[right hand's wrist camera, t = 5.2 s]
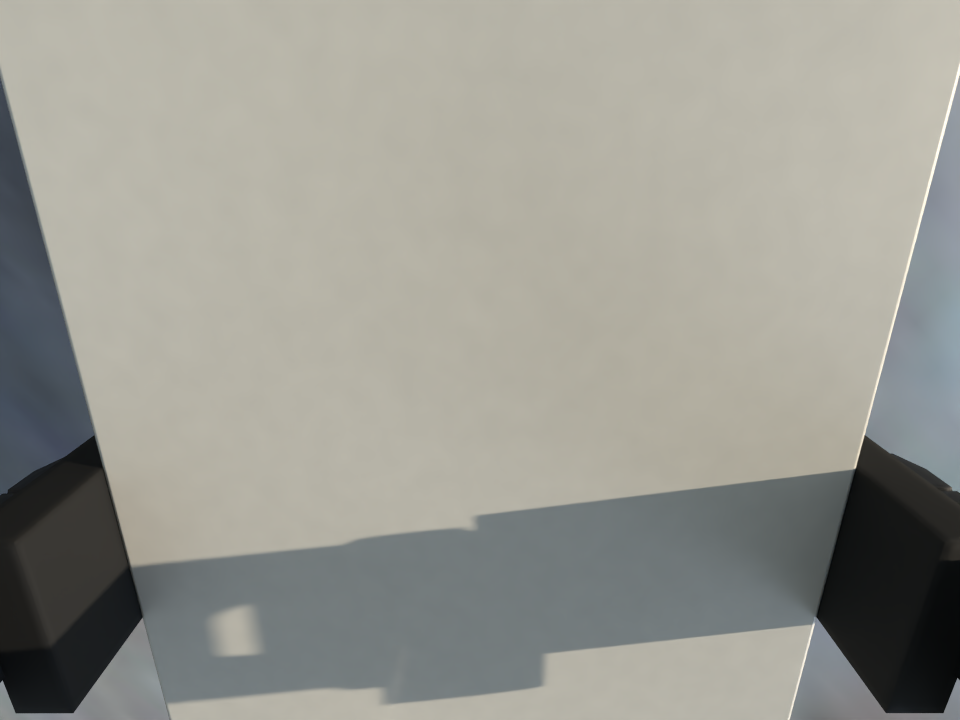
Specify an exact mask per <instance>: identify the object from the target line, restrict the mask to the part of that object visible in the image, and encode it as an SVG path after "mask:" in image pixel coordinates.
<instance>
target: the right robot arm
mask: <svg viewBox="0 0 960 720" xmlns="http://www.w3.org/2000/svg"><path fill="white" fill-rule="evenodd" d="M817 618H818V620H819V621H820V622H821V624H822V625H823V627H824V628H825V629H826V631H827V632H828V634H829V635H830V636H831V638H832V639H833V640H834V642H835V643H836V645H837V646H838V647H839V649H840V650H841V651H842V653H843V654H844V656H845V657H846V658H847V660H848V661H849V663H850V664H851V665H852V667H853V668H854V669H855V671H856V672H857V674H858V675H859V676H860V678H861V679H862V680H863V682H864V683H865V685H866V686H867V687H868V689H869V690H870V692H871V693H872V694H873V696H874V697H875V698H876V700H877V701H878V703H879V704H880V705H881V707H882V708H883V709H884V711H885V712H886V713H944V710H945V708H946V705H947V703H948V700H949V698H950V695H951V692H952V690H953V687H954V685H955V682H956V680H957V678H958V679H959V680H960V493H959V492H957V491H952V487H950V486H949V485H948V484H946V483H945V482H943V481H942V480H941V479H939V478H938V477H936V476H935V475H934V474H932V473H931V472H929V471H928V470H926V469H925V468H922V467H920V466H918V465H916V464H914V463H912V462H909V461H907V460H905V459H903V458H901V457H899V456H896V455H894V454H890V453H888V452H887V451H886V450H884V449H883V448H882V447H880V446H879V445H877V444H876V443H875V442H873V441H872V440H871V439H869V438H868V437H867V436H865V435H864V439H863V443H862V446H861V450H860V454H859V458H858V461H857V465H856V469H855V473H854V477H853V480H852V484H851V488H850V492H849V496H848V499H847V503H846V507H845V511H844V515H843V518H842V522H841V526H840V530H839V534H838V537H837V541H836V545H835V549H834V552H833V556H832V560H831V564H830V568H829V571H828V575H827V579H826V583H825V587H824V590H823V594H822V598H821V602H820V606H819V609H818V613H817ZM141 619H142V613H141V609H140V605H139V602H138V598H137V594H136V590H135V586H134V583H133V579H132V575H131V571H130V567H129V564H128V560H127V556H126V552H125V548H124V545H123V541H122V537H121V533H120V529H119V526H118V522H117V518H116V514H115V510H114V507H113V503H112V499H111V495H110V492H109V488H108V484H107V480H106V476H105V473H104V469H103V465H102V461H101V457H100V454H99V450H98V446H97V442H96V438H95V435H94V436H93V437H91V438H90V439H89V440H87V441H86V442H85V443H83V444H82V445H81V446H79V447H78V448H76V449H75V450H74V451H72V452H71V453H70V454H68V455H67V456H66V457H64V458H62V459H59V460H57V461H55V462H53V463H51V464H49V465H47V466H44V467H42V468H40V469H38V470H36V471H34V472H32V473H31V474H30V475H28V476H27V477H25V478H24V479H23V480H21V481H20V482H18V483H17V484H16V485H14V486H13V487H11V488H10V489H9V490H8V493H7V494H2V495H0V682H1V681H2V680H3V682H4V685H5V687H6V690H7V692H8V695H9V697H10V700H11V702H12V705H13V707H14V710H15V712H16V713H74V711H75V710H76V709H77V707H78V706H79V704H80V703H81V702H82V700H83V699H84V698H85V696H86V695H87V693H88V692H89V691H90V689H91V688H92V686H93V685H94V684H95V682H96V681H97V680H98V678H99V677H100V675H101V674H102V673H103V671H104V670H105V669H106V667H107V666H108V664H109V663H110V662H111V660H112V659H113V657H114V656H115V655H116V653H117V652H118V651H119V649H120V648H121V646H122V645H123V644H124V642H125V641H126V640H127V638H128V637H129V635H130V634H131V633H132V631H133V630H134V628H135V627H136V626H137V624H138V623H139V622H140V620H141Z"/></svg>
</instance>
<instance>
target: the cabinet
mask: <svg viewBox="0 0 960 720" xmlns="http://www.w3.org/2000/svg"><path fill="white" fill-rule="evenodd" d="M959 75H960V0H0V78H1V82H2V86H3V89H4V93H5V97H6V101H7V105H8V108H9V112H10V116H11V120H12V123H13V127H14V131H15V135H16V139H17V142H18V146H19V150H20V154H21V158H22V161H23V165H24V169H25V173H26V177H27V180H28V184H29V188H30V192H31V196H32V199H33V203H34V207H35V211H36V215H37V218H38V222H39V226H40V230H41V234H42V237H43V241H44V245H45V249H46V252H47V256H48V260H49V264H50V268H51V271H52V275H53V279H54V283H55V287H56V290H57V294H58V298H59V302H60V306H61V309H62V313H63V317H64V321H65V325H66V328H67V332H68V336H69V340H70V344H71V347H72V351H73V355H74V359H75V363H76V366H77V370H78V374H79V378H80V381H81V385H82V389H83V393H84V397H85V400H86V404H87V408H88V412H89V416H90V419H91V423H92V427H93V431H94V435H95V438H96V442H97V446H98V450H99V454H100V457H101V461H102V465H103V469H104V473H105V476H106V480H107V484H108V488H109V492H110V495H111V499H112V503H113V507H114V510H115V514H116V518H117V522H118V526H119V529H120V533H121V537H122V541H123V545H124V548H125V552H126V556H127V560H128V564H129V567H130V571H131V575H132V579H133V583H134V586H135V590H136V594H137V598H138V602H139V605H140V609H141V613H142V617H143V621H144V624H145V628H146V632H147V636H148V640H149V643H150V647H151V651H152V655H153V658H154V662H155V666H156V670H157V674H158V677H159V681H160V685H161V689H162V693H163V696H164V700H165V704H166V708H167V712H168V715H169V719H170V720H789V719H790V716H791V712H792V708H793V704H794V700H795V697H796V693H797V689H798V685H799V681H800V678H801V674H802V670H803V666H804V662H805V659H806V655H807V651H808V647H809V644H810V640H811V636H812V632H813V628H814V625H815V621H816V617H817V613H818V609H819V606H820V602H821V598H822V594H823V590H824V587H825V583H826V579H827V575H828V571H829V568H830V564H831V560H832V556H833V552H834V549H835V545H836V541H837V537H838V534H839V530H840V526H841V522H842V518H843V515H844V511H845V507H846V503H847V499H848V496H849V492H850V488H851V484H852V480H853V477H854V473H855V469H856V465H857V461H858V458H859V454H860V450H861V446H862V443H863V439H864V435H865V431H866V427H867V424H868V420H869V416H870V412H871V408H872V405H873V401H874V397H875V393H876V389H877V386H878V382H879V378H880V374H881V370H882V367H883V363H884V359H885V355H886V351H887V348H888V344H889V340H890V336H891V333H892V329H893V325H894V321H895V317H896V314H897V310H898V306H899V302H900V298H901V295H902V291H903V287H904V283H905V279H906V276H907V272H908V268H909V264H910V260H911V257H912V253H913V249H914V245H915V242H916V238H917V234H918V230H919V226H920V223H921V219H922V215H923V211H924V207H925V204H926V200H927V196H928V192H929V188H930V185H931V181H932V177H933V173H934V169H935V166H936V162H937V158H938V154H939V151H940V147H941V143H942V139H943V135H944V132H945V128H946V124H947V120H948V116H949V113H950V109H951V105H952V101H953V97H954V94H955V90H956V86H957V82H958V78H959Z"/></svg>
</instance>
